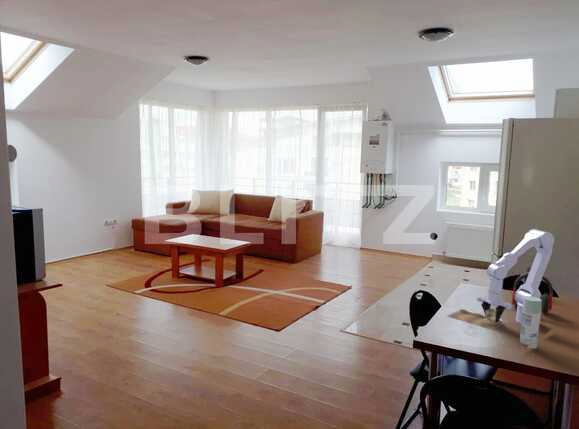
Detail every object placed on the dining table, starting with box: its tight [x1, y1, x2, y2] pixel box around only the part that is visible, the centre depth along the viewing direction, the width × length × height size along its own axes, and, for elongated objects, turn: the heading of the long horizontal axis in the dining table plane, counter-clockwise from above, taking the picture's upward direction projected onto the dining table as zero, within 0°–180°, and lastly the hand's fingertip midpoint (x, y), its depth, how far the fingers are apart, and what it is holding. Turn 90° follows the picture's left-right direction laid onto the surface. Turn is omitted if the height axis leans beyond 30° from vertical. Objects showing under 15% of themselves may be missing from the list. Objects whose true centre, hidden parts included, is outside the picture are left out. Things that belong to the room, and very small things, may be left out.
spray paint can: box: [519, 296, 542, 350], centre depth 182 cm, size 6×6×20 cm
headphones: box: [511, 272, 554, 315], centre depth 224 cm, size 18×10×20 cm, turn 64°
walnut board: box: [446, 308, 509, 331], centre depth 209 cm, size 22×16×3 cm
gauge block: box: [484, 307, 499, 326], centre depth 203 cm, size 4×9×6 cm, turn 133°
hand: (492, 320), depth 204 cm, fingers closed on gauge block, 4 cm apart
